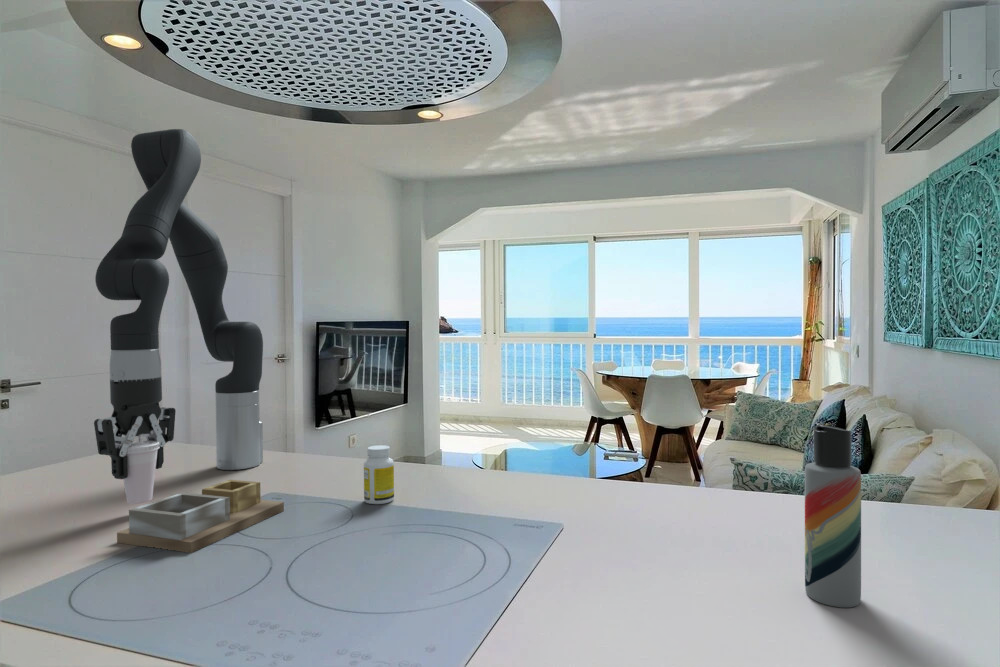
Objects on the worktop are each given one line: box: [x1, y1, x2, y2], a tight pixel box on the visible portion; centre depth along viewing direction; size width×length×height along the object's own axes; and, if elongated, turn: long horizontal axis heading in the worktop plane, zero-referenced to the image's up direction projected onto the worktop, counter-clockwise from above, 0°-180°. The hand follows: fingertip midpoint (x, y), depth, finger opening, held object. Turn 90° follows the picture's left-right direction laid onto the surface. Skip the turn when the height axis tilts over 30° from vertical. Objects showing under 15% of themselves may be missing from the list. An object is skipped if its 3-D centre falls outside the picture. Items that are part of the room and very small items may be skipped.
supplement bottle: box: [363, 444, 395, 505], centre depth 108 cm, size 5×5×10 cm
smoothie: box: [119, 434, 160, 504], centre depth 102 cm, size 6×6×14 cm
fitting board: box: [116, 479, 285, 554], centre depth 95 cm, size 20×14×5 cm
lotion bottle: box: [804, 424, 862, 608], centre depth 69 cm, size 6×6×20 cm
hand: (138, 472), depth 102 cm, fingers closed on smoothie, 6 cm apart
